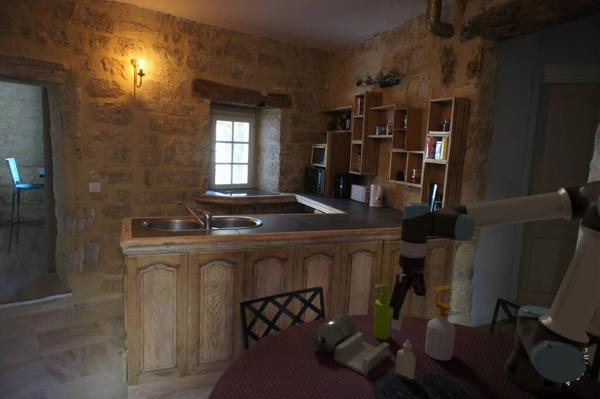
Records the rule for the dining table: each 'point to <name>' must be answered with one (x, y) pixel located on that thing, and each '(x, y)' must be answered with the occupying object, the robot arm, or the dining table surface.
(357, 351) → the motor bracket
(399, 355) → the eye dropper bottle
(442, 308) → the soap bottle
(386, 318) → the soap dispenser
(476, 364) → the dining table surface
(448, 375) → the dining table surface
